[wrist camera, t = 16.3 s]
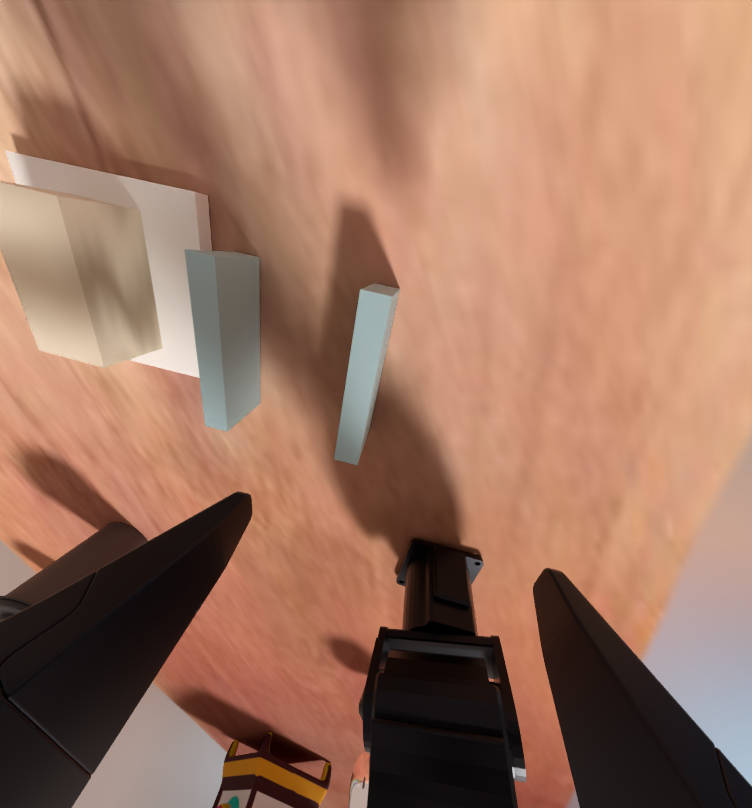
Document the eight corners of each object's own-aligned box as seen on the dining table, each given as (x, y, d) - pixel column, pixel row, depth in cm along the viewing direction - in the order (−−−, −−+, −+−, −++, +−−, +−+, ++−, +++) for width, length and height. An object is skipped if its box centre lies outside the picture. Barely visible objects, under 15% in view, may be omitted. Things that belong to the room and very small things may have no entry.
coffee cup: (173, 561, 34) (83, 667, 25) (122, 560, 36) (22, 658, 27) (135, 512, 30) (16, 614, 22) (81, 514, 32) (-48, 609, 24)
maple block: (162, 348, 19) (103, 367, 16) (109, 334, 20) (39, 350, 16) (140, 210, 16) (56, 195, 12) (73, 194, 16) (-28, 175, 12)
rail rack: (369, 430, 21) (357, 465, 17) (241, 398, 21) (205, 425, 18) (400, 288, 16) (392, 296, 13) (235, 251, 17) (184, 249, 13)
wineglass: (412, 691, 39) (407, 850, 29) (392, 701, 42) (380, 850, 31) (377, 674, 39) (358, 830, 28) (358, 686, 41) (334, 832, 31)
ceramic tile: (221, 376, 21) (212, 381, 20) (85, 341, 21) (70, 345, 20) (207, 195, 16) (194, 191, 15) (28, 156, 16) (5, 150, 15)
